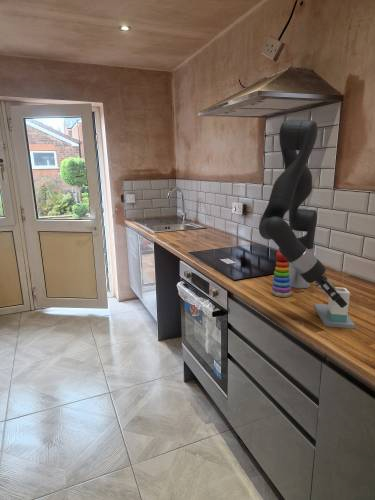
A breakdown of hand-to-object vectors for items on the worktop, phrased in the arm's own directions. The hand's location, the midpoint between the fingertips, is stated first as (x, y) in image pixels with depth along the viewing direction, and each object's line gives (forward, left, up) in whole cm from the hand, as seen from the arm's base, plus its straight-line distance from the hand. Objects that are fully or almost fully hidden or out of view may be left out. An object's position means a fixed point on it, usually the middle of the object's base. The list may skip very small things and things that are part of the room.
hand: (340, 300), depth 105 cm
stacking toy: (-23, -16, -8) cm, 29 cm away
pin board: (-4, -1, -7) cm, 8 cm away
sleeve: (0, -1, -6) cm, 6 cm away
